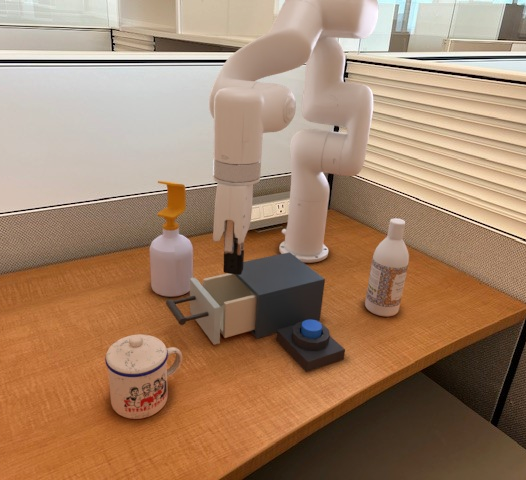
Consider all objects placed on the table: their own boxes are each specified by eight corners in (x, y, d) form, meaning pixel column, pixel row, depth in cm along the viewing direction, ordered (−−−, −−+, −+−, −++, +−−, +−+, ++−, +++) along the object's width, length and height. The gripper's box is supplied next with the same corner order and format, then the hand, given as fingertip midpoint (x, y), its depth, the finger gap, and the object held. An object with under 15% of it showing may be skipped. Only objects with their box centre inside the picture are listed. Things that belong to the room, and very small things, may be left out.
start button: (297, 330, 87) (297, 322, 86) (313, 325, 88) (314, 317, 87) (308, 341, 84) (309, 333, 83) (325, 336, 85) (326, 328, 85)
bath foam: (382, 321, 97) (400, 230, 88) (357, 305, 102) (371, 218, 93) (405, 311, 100) (424, 223, 92) (379, 296, 105) (395, 211, 97)
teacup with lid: (124, 430, 69) (118, 366, 64) (100, 393, 75) (93, 332, 70) (196, 397, 75) (196, 336, 70) (168, 365, 82) (166, 308, 77)
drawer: (184, 353, 84) (183, 316, 80) (162, 319, 93) (161, 284, 89) (277, 326, 92) (280, 292, 89) (249, 298, 101) (251, 265, 98)
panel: (276, 339, 90) (277, 321, 88) (311, 329, 93) (313, 311, 92) (306, 372, 82) (308, 353, 80) (343, 359, 85) (346, 341, 84)
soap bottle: (143, 292, 103) (137, 183, 93) (165, 273, 111) (161, 171, 101) (180, 301, 100) (178, 190, 90) (199, 282, 108) (200, 177, 98)
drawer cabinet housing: (256, 339, 90) (259, 295, 86) (226, 305, 100) (228, 264, 96) (319, 320, 96) (325, 278, 92) (286, 290, 106) (289, 252, 102)
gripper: (223, 156, 83) (221, 251, 91) (202, 181, 70) (201, 290, 77) (266, 159, 82) (260, 255, 90) (253, 186, 68) (247, 296, 76)
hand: (233, 271), depth 83 cm, fingers closed
